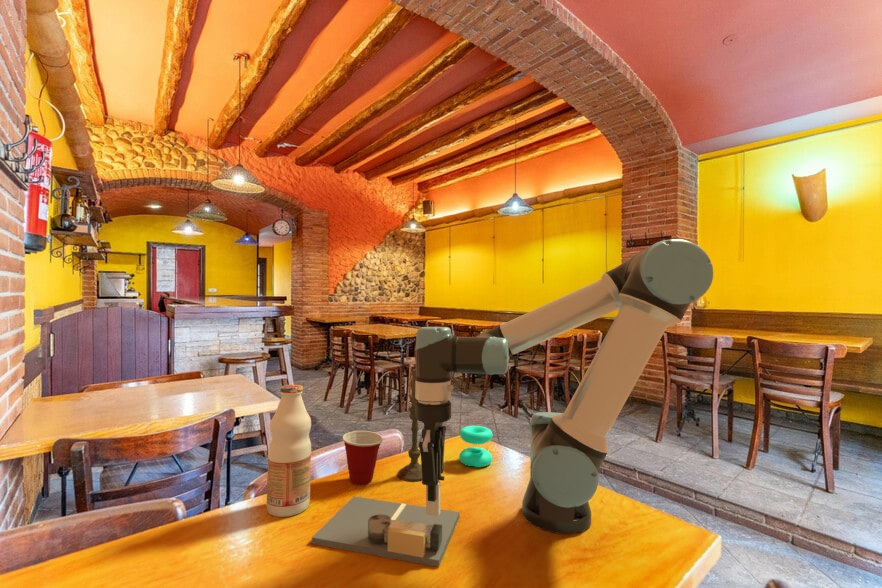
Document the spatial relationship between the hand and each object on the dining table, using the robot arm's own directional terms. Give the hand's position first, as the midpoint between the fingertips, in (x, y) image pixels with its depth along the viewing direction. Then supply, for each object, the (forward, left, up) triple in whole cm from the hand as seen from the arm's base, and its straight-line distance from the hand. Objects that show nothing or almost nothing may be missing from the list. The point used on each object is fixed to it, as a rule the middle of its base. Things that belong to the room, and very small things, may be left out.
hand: (433, 513), depth 85 cm
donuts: (-2, -40, -4) cm, 41 cm away
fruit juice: (+35, 0, -4) cm, 35 cm away
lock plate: (+9, +2, -4) cm, 10 cm away
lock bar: (+4, +7, -2) cm, 9 cm away
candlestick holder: (+13, -26, -4) cm, 30 cm away
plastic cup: (+25, -18, -4) cm, 31 cm away
